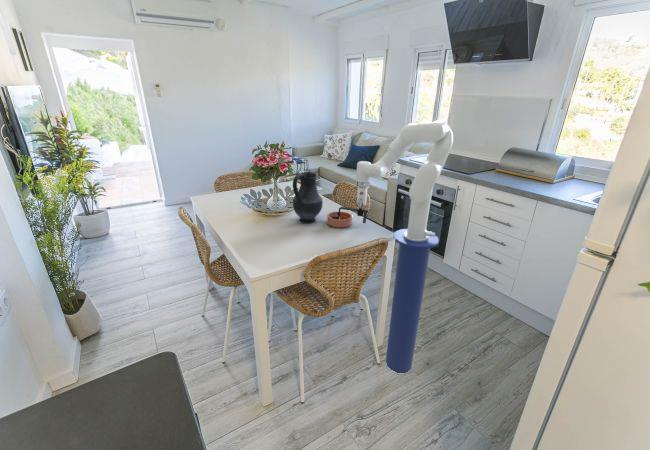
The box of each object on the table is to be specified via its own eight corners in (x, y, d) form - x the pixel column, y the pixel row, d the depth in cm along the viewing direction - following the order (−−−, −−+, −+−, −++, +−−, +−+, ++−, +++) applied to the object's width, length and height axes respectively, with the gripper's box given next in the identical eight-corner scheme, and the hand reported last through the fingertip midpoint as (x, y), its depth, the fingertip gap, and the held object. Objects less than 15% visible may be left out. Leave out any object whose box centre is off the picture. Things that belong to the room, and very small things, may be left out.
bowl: (352, 220, 191) (353, 212, 189) (350, 229, 177) (350, 221, 176) (329, 218, 193) (329, 210, 191) (325, 227, 180) (325, 219, 178)
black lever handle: (367, 221, 183) (368, 209, 180) (366, 224, 179) (368, 211, 176) (332, 216, 186) (333, 204, 183) (330, 219, 182) (331, 206, 179)
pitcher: (327, 219, 191) (328, 170, 179) (307, 230, 175) (306, 178, 163) (304, 213, 200) (304, 166, 188) (283, 223, 184) (281, 173, 172)
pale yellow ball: (340, 219, 188) (340, 215, 187) (339, 222, 186) (339, 218, 184) (335, 219, 189) (335, 215, 187) (334, 221, 187) (334, 217, 185)
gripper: (368, 188, 165) (365, 220, 172) (370, 181, 180) (367, 211, 187) (354, 187, 167) (352, 219, 174) (357, 180, 181) (355, 210, 188)
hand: (360, 215), depth 180 cm, fingers closed on black lever handle, 1 cm apart
